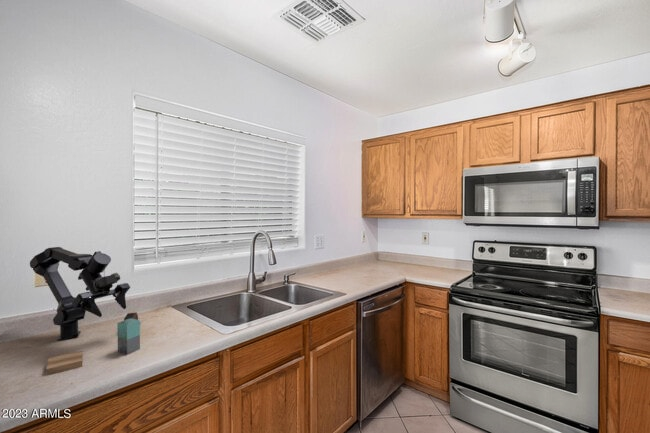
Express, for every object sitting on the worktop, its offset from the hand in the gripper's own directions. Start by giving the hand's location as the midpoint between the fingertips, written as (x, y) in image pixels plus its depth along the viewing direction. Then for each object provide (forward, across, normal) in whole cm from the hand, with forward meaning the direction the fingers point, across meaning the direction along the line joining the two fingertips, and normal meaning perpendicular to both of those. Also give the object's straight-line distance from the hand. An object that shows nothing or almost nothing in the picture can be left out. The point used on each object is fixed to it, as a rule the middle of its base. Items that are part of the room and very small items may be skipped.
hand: (113, 312), depth 116 cm
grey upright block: (+3, +15, +17) cm, 22 cm away
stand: (+8, -15, +11) cm, 20 cm away
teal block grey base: (+15, 0, +4) cm, 16 cm away
